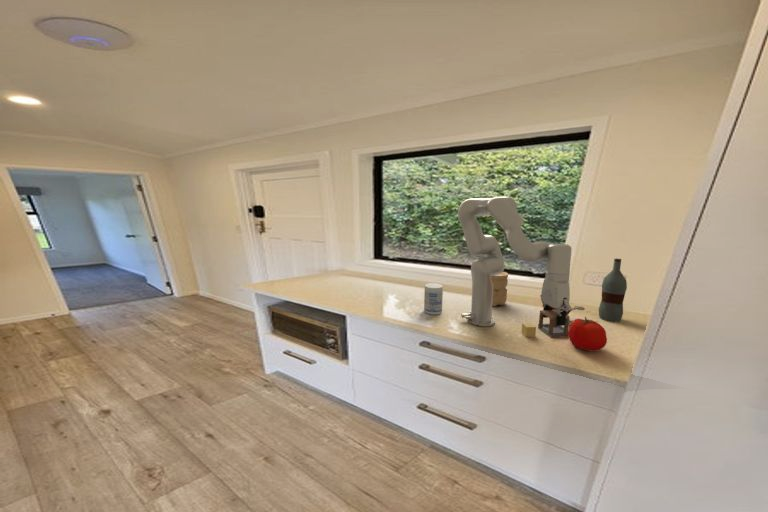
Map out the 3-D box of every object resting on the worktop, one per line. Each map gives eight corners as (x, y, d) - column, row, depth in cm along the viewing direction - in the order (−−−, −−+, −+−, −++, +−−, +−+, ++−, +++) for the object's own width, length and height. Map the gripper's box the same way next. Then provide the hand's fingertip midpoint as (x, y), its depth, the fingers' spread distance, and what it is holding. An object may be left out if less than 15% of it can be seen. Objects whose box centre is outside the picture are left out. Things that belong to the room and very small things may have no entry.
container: (484, 306, 156) (485, 275, 153) (481, 299, 168) (483, 270, 165) (508, 307, 153) (510, 276, 150) (503, 300, 165) (505, 270, 162)
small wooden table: (550, 335, 105) (551, 317, 104) (538, 327, 112) (539, 310, 111) (567, 334, 105) (569, 316, 104) (555, 326, 112) (556, 309, 111)
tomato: (584, 338, 118) (587, 312, 116) (615, 355, 105) (619, 326, 103) (558, 341, 116) (561, 315, 114) (586, 358, 103) (590, 329, 101)
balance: (552, 326, 129) (554, 309, 128) (547, 323, 133) (548, 306, 131) (584, 325, 130) (586, 308, 129) (578, 321, 134) (580, 304, 133)
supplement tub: (430, 316, 144) (430, 289, 141) (420, 310, 152) (421, 284, 150) (445, 313, 147) (446, 286, 145) (435, 307, 156) (436, 282, 153)
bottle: (612, 315, 141) (620, 257, 135) (627, 322, 132) (636, 260, 126) (593, 315, 141) (600, 257, 136) (606, 322, 132) (615, 261, 127)
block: (525, 336, 120) (526, 327, 119) (521, 332, 124) (522, 323, 123) (535, 336, 120) (536, 327, 119) (530, 332, 124) (531, 323, 123)
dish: (551, 337, 119) (551, 333, 119) (537, 328, 128) (538, 324, 128) (570, 336, 120) (571, 331, 120) (556, 327, 129) (556, 323, 128)
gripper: (533, 271, 113) (530, 313, 116) (564, 283, 96) (560, 331, 99) (551, 271, 114) (547, 312, 117) (584, 282, 97) (579, 330, 100)
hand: (553, 320), depth 108 cm, fingers closed on small wooden table, 7 cm apart
